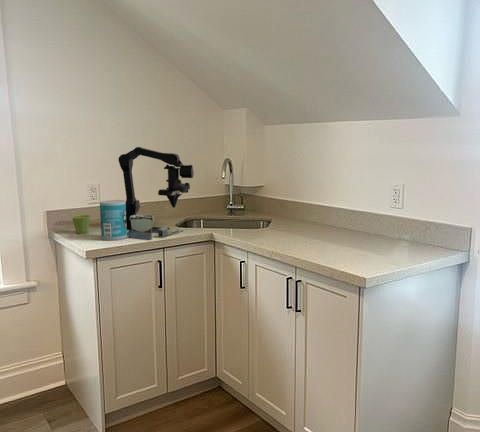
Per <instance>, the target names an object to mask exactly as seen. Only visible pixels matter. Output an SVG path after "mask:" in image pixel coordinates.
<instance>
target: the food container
mask: <svg viewBox="0 0 480 432" xmlns="http://www.w3.org/2000/svg"><path fill="white" fill-rule="evenodd" d="M129 220H131V227H132V231H135V232H144V233H151V235H152V236H153V232H152V226H154V225H153V222H154V221H155V217H154V216H153V215H152V214H136V215H132V216H130V219H129Z"/></svg>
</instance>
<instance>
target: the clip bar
mask: <svg viewBox="0 0 480 432" xmlns="http://www.w3.org/2000/svg"><path fill="white" fill-rule="evenodd" d="M167 228H168V235H169V234H172V232H173V231H172V230H173V228H171V227H170V226H168V227H167Z"/></svg>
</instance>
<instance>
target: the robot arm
mask: <svg viewBox="0 0 480 432" xmlns="http://www.w3.org/2000/svg"><path fill="white" fill-rule="evenodd" d="M140 156H143V157H148V158H151V159H155V160H159V161H162V162H163V163H166V165H165V166H164V167H163V169H164V170H167V179H166V181H165V182H167V187H166V188H162V189H159V190H158V191H157V193H158V196H166V197H167V199H168V201H169V203H170V205H171V207H172V208H173V209H174V208H176V205H177V202H178V199H179V198H180V197H181V196H182V194H186V193H187V194H188V193H189V190H190V187H191V186H190V183H189V182H185V183H183V182H182V180H181V179H180V177H181V178H182V179H194V175H195V174H194V167H193V164H189V165H187V164H184V163H183V162H182V161H181V160H180V156H179V154H177V153H174V152H173V153H172V152H161V151H158V150H153V149H148V148H145V147H141V146H137V147H135V148H133V149H132V150H130V151H128V152H127V153H122V154H121V155H120V156H119V157H118V163H119V167H120V169H121V171H122V173H123V175H122V176H123V181H124V188H125V195H126V198H125V199H126V200H125V203H126V223H127V231H129V230H131V229H132V227H131V220H129V219H130V216H132V215H137V213H138V212H139V211H140V208H141V206H140V200H139V199H138V200H137V198H136V196H135V188H134V186H135V184H134V178H133V172H132V171H133V167H134V160H135V159H137V158H138V157H140Z"/></svg>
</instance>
